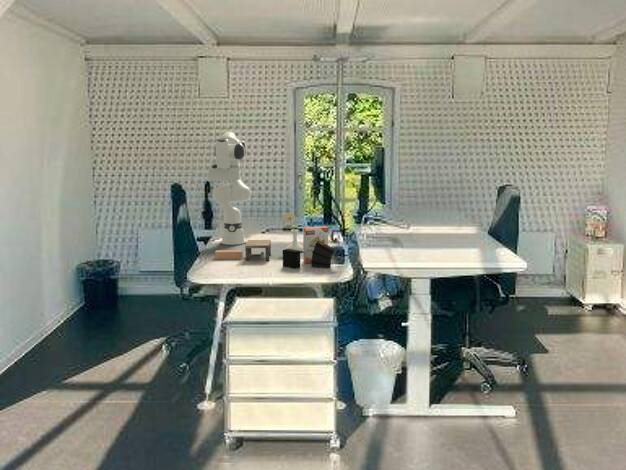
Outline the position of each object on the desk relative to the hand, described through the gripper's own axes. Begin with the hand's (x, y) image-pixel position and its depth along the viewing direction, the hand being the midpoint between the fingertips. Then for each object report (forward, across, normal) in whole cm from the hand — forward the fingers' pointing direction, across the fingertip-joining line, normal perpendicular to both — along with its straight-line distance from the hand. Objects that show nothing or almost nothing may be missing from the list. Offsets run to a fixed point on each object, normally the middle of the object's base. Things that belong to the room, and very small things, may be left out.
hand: (223, 187), depth 424 cm
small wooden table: (+42, -16, +19) cm, 49 cm away
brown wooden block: (+42, +1, +14) cm, 44 cm away
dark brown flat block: (+43, -45, +57) cm, 84 cm away
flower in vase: (+42, -42, +8) cm, 60 cm away
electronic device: (+43, -29, +50) cm, 72 cm away
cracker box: (+42, -46, +42) cm, 76 cm away
